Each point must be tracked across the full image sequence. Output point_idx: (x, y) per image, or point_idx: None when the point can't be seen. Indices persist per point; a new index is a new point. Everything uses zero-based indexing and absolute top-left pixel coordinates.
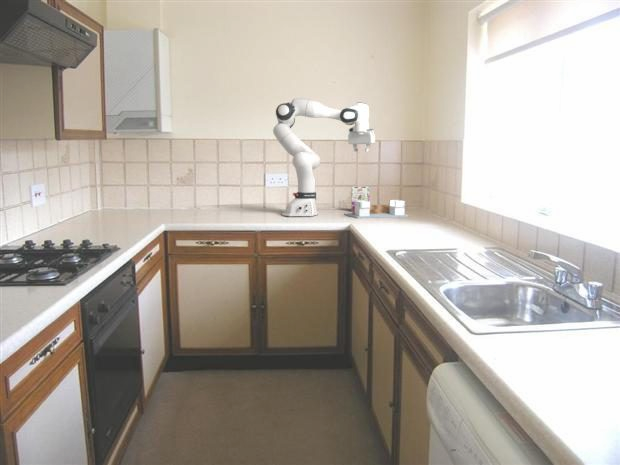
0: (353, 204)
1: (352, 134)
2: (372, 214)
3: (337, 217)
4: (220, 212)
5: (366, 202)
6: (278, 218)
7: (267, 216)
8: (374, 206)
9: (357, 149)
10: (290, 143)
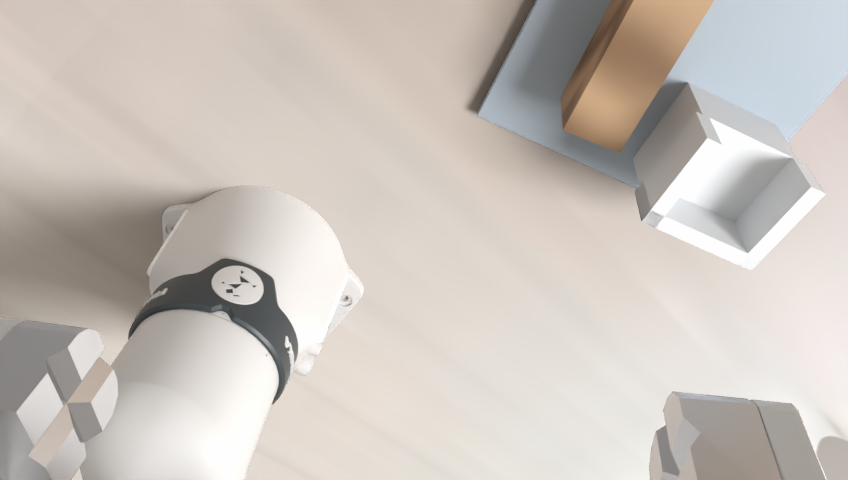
0: None
1: None
2: (742, 10)
3: (562, 263)
4: None
5: (795, 219)
6: (371, 463)
7: (267, 445)
8: None
9: (46, 389)
10: None
